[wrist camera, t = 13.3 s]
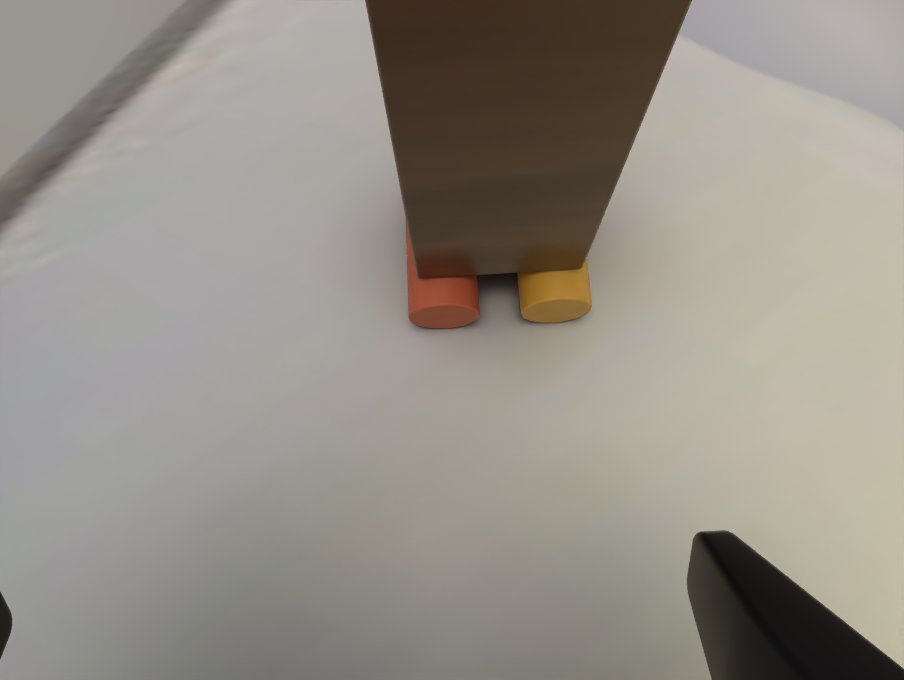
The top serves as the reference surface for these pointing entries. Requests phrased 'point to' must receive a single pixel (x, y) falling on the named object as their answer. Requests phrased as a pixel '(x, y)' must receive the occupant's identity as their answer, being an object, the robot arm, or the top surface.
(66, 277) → the top surface
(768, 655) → the robot arm
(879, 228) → the top surface
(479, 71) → the bar
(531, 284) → the twin coloured cylinders
